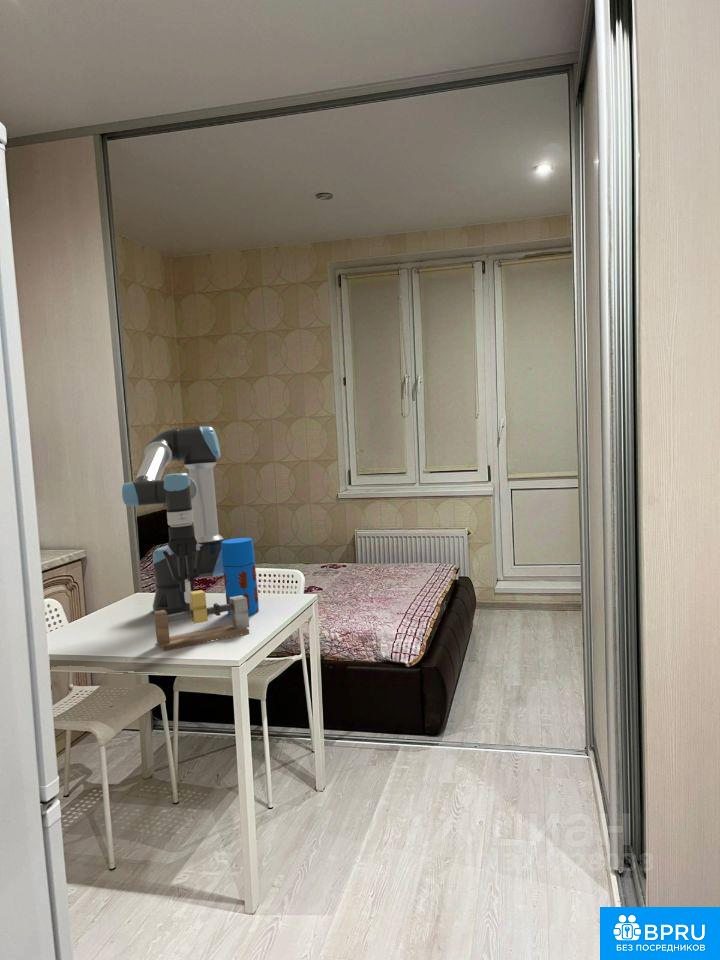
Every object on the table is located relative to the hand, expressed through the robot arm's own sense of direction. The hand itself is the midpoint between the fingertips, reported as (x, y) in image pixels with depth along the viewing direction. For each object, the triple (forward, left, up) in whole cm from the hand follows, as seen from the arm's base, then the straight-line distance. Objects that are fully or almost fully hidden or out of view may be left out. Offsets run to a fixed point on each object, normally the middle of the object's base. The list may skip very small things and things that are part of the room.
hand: (188, 602), depth 227 cm
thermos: (-22, +23, -12) cm, 34 cm away
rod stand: (0, +3, -12) cm, 12 cm away
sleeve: (0, +3, -6) cm, 7 cm away
